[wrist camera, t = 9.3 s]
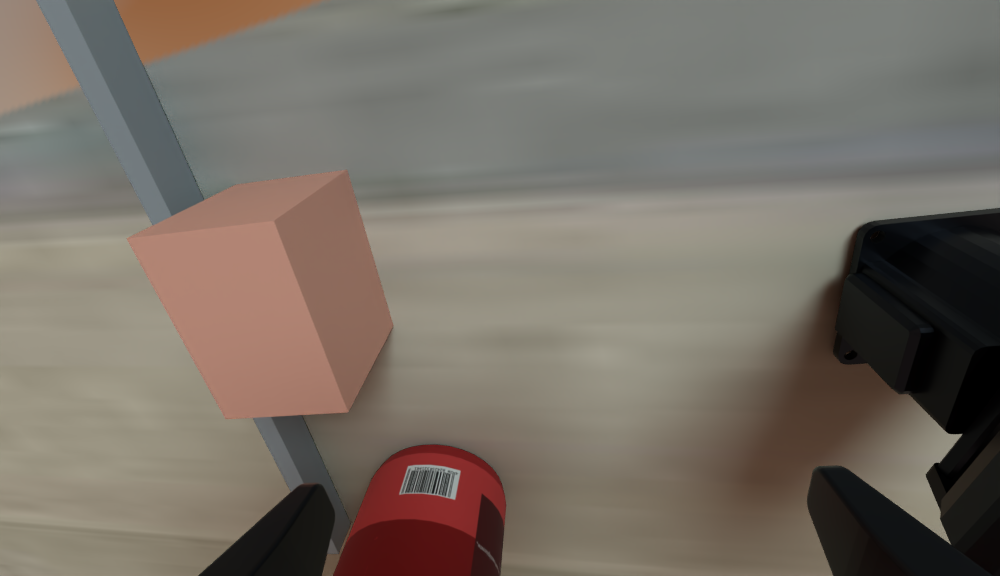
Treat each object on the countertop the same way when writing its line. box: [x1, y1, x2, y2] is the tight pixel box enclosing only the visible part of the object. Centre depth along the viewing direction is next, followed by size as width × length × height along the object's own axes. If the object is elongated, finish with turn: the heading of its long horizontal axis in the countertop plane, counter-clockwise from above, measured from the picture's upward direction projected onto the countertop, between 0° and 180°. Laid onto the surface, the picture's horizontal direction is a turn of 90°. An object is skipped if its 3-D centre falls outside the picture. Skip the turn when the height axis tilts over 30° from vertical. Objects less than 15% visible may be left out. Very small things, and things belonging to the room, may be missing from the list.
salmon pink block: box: [127, 170, 393, 419], centre depth 19 cm, size 5×8×6 cm
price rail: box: [36, 0, 351, 554], centre depth 22 cm, size 1×32×2 cm, turn 9°
